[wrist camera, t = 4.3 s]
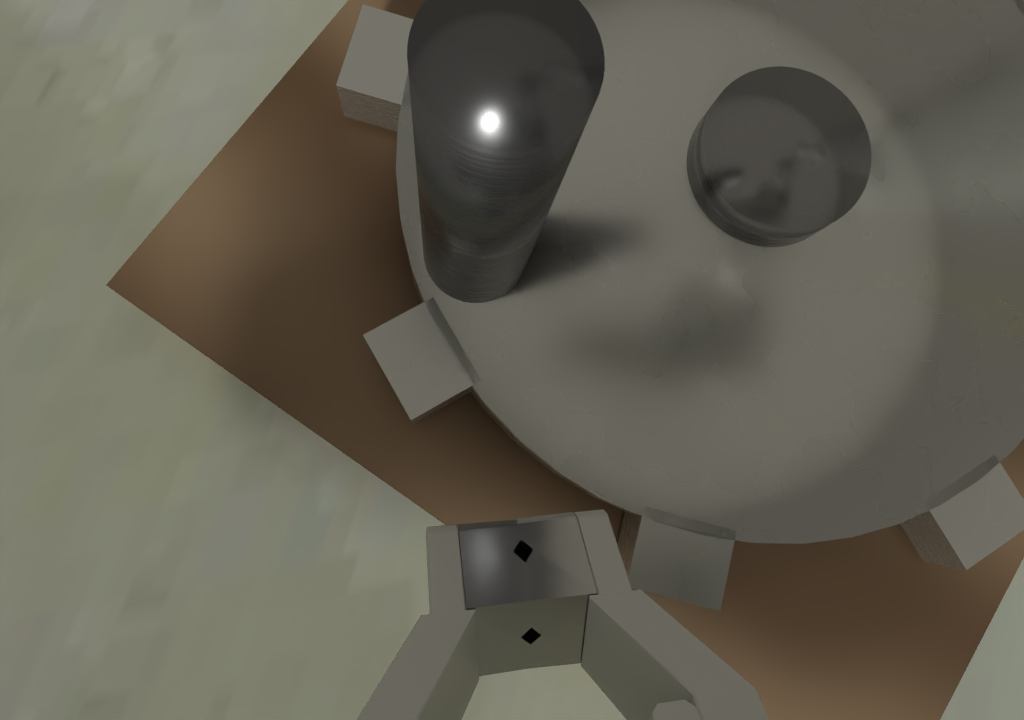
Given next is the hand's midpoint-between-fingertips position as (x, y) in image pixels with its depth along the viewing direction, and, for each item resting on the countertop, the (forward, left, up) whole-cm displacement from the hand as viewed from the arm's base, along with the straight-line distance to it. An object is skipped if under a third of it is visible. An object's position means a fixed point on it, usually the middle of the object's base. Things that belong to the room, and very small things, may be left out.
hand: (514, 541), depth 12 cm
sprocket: (-11, +1, -5) cm, 12 cm away
